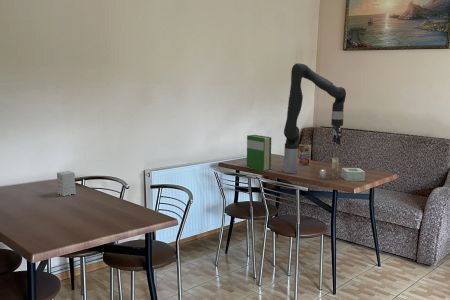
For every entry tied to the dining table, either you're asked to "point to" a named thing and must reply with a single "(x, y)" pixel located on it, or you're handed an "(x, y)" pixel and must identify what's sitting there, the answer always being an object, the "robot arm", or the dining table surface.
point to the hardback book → (259, 152)
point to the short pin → (322, 174)
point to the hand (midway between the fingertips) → (336, 143)
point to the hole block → (353, 174)
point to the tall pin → (335, 167)
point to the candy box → (304, 155)
